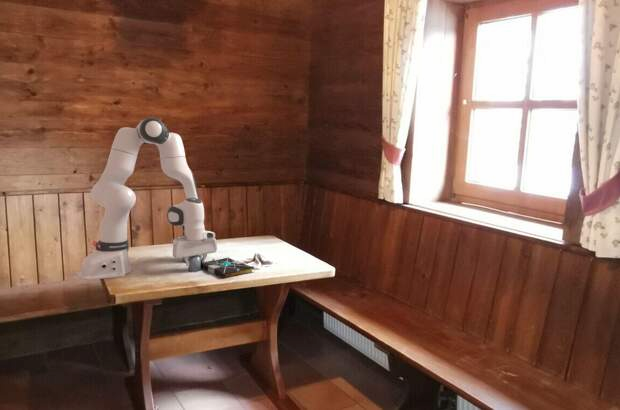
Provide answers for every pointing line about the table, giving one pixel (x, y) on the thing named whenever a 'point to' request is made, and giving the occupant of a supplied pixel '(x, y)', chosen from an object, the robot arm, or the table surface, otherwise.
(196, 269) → the grey short cylinder
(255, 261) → the cloth
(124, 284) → the table surface
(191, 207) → the robot arm
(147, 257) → the table surface
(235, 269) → the book
